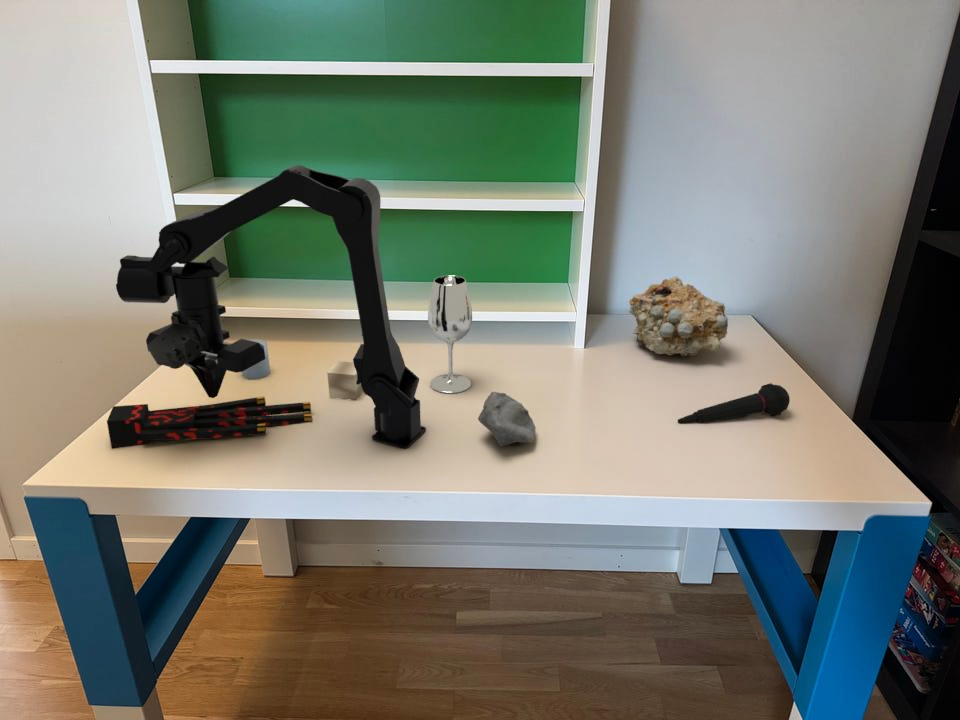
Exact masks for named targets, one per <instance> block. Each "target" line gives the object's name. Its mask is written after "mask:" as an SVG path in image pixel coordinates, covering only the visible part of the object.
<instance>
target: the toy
mask: <svg viewBox="0 0 960 720" xmlns="http://www.w3.org/2000/svg"><path fill="white" fill-rule="evenodd" d="M266 404H267V403H266V398H265V395H264V396H257V397H251V398H244V399H237V400H231V401H223V402H218V403H212V404H205V405H204V404H203V405H193V406H186V407H185V406H183V407H174V408H165V409H155V410H149V404H148V403H146V404H145V403H143V404H129V405H127V404H126V405H116V406H114V405H113V406H112V408H111V411H110V413H109V415H108V418H107V420H106V425H107V429H108V435H109V441H110V442H109V443H110V447H111V450H113V449H121V448H122V449H123V448H129V447H137V446H146V445H148V442H149V441H170V440H171V441H173V440H175V441H176V440H177V441H180V440H181V441H182V440H206V439H207V440H208V439H218V438H230V437H244V436H254V435H266V434H267V426H270V427H271V426H272V427H273V426H288V425H289V426H291V425H299V424H304V423H312V422H313V415H312V413H311V412H312V407H311V404H312V403H311V401H305V402H294V403H283V404H282V403H281V404H280V403H279V404H271V405H269V404H268V405H266ZM308 412H309V413H310V414H309V413H308ZM300 413H302V414H300ZM303 413H304V414H303ZM305 413H306V414H305ZM307 413H308V414H307Z"/></svg>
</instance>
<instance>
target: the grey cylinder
mask: <svg viewBox="0 0 960 720" xmlns="http://www.w3.org/2000/svg"><path fill="white" fill-rule="evenodd" d="M248 340H249V341H254V342H258V343H260V344H261V345H263V346H264V352H265V360H263V361H261V362H259V363H257V364H255V365H254V366H252V367H250V368H248V369H246V370H244V371H243V372H241V373H242V377H243V378H244V379H246V380H253V381H254V380H262V379H265V378H267V377H269V376H270V374H271V367H270V358H269V349H268V343H267V341H266V340H264V339H257V338H255V339H248Z"/></svg>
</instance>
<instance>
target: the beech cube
mask: <svg viewBox="0 0 960 720" xmlns="http://www.w3.org/2000/svg"><path fill="white" fill-rule="evenodd" d="M326 374H327V382H328V383H327V384H328V394H329V395H328V396H329V399H336V398H339V400H347V399H351V400H350V401H358V400H357V399H359V398H360V397H361V395H362V394H363V393H364V392H363V390H362V387H361V383H360V384H358V385H357V384H356V382H357V372H356V369H355V366H354V362H352V361H341V360H337V361H336V362H335V363H334V365H333V366H332V367H331V368H330V369H329V370H328V372H327V373H326ZM340 398H341V399H340Z"/></svg>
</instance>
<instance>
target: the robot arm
mask: <svg viewBox="0 0 960 720" xmlns="http://www.w3.org/2000/svg"><path fill="white" fill-rule="evenodd" d="M292 200H294V201H297V202H300V203H302V204H303V205H306V206H307V207H309V208H311V209H312V210H314V211H316V212H318V213H320V214H323V215H327V216H329V217H331V218H332V220H333V223H334V226H335V230H336V231H337V234H338V236H339V237H340V239H341V241H342V243H343V244H344V247H346V250H347V253H348V258H349V263H350V270H351V276H352V281H353V287H354V293H355V298H356V300H355V301H356V305H357V310H358V317H359V318H358V319H359V323H360V329H361V334H362V341H363V343H360V345H359V347H358V349H357V350H356V353H355V355H354V357H353V359H352V361H353V362H354V366H355V369H356V372H357V382H356V384H357V385H358V384H360V383H361V387H362V390H363V393H364V395H366V396H368V397H369V398H370V399H371V400H372V403H373V404H374V406H375V407H373V417H374V419H373V420H374V430H375V431H376V432H374V434H373V435H371V440H372V441H376V442H380V443H383V444H387V445H391V446H394V447H398V448H401V449H407V448H409V447H411V446H412V445H413V443H414V442H416V441H417V440H418V439H419V438H420V437H421V436H422V435H423V434H424V433H425V432H426V431H427V428H426V427H425V426H422V425H421V424H422V423H421V400H420V399H417V398H416V397H415V396H416V392H417V389H418V385H419V383H420V382H419V381H420V377H418V376H417V375H416V374H415V373H414V372H413V371H412V370H410V369H409V368H408V366H406V363H405V361H404V358H403V355H402V354H403V353H402V351H401V349H400V346H399V344H398V343H397V341H396V338H395V337H394V336H393V334H392V331H391V323H390V317H389V309H388V305H387V304H388V303H387V297H386V291H385V285H384V278H383V277H384V276H383V271H382V265H381V264H382V263H381V259H380V258H381V257H380V251H379V245H378V242H379V233H380V225H381V224H380V223H381V194H380V191H379V189H378V187H377V186H376V185H375V184H374V183H373V182H371V181H370V180H367V179H366V178H359V177H358V178H351V179H348V178H345V177H342V176H340V175H336V174H331V173H326V172H322V171H317V170H314V169H311V168H308V167H306V166H305V165H303V164H302V165H300V164H299V165H298V164H296V165H292V166H290V167H288V168H287V169H284V170H283V171H281V173H280V174H278V175H277V176H275V177H273V178H271V179H270V180H267V181H266V182H264V183H262V184H260V185H258V186H257V187H255V188H253V189H251V190H249V191H248V192H246V193H245V192H244V194H241V195H239V196H238V197H236V198H234V199H232V200H230V201H228V202H226V203H224V204H223V205H220V206H217V207H212V208H209V209H204V210H200V211H196V212H194V213H191V214H187V215H185V216H182V217H180V218H178V219H176V220H174V221H172V222H170V223H168V224H166V225H164V226H163V227H162V228H161V229H160V230H159V232H158V244H159V246H158V248H157V249H156V251H155V253H154V254H153V256H151V257H150V256H138V255H126V256H122V258H120V259H119V263H120V268H119V270H118V272H117V279H116V284H115V288H116V291H117V295H118V297H119V299H121V301H123V302H125V303H138V304H139V303H143V304H144V303H146V304H166V303H168V301H169V300H170V299H171V297H173V296H175V301H176V308H177V310H175V311H173V312H171V316H170V320H171V323H170V324H168V325H165V326H163V327H159V328H158V329H156V330H153V331H151V332H149V333H148V335H147V337H146V339H145V340H146V348H147V352H149V353H150V355H151V356H152V358H153V360H154V362H155V363H156V364H157V365H158V366H165V367H169V368H170V369H173V370H175V369H179V368H180V369H181V368H182V367H183V366H184V365H185V366H186V367H189V368H190V369H191V370H192V372H193V373H194V375H195V376H196V378H197V379H198V381H199V383H200V385H201V386H202V388H203V390H204V391H205V393H206V395H207V397H208V398H211V399H215V398H216V397H218V395H219V393H220V390H221V387H222V385H223V381H224V378H225V376H226V373H227V371H229V372H232V373H236V374H238V373H242V372H243V371H244V370H246V369H248V368H250V367H252V366H254V365H255V364H257V363H259V362H261V361H263V360H265V352H264V346H263V345H261V344H260V343H258V342H254V341H249V340H250V339H244V338H241V339H238V340H236V341H234V342H228V341H225V340H227V339H229V338H230V331H228V330H224V329H223V325H222V319H221V315H223V314H225V313H227V312H226V306H225V305H221V304H219V298H218V291H217V284H216V281H215V280H216V279H215V278H219V277H221V276H222V275H223V274H224V273H226V272H227V271H228V270H229V267H228V266H227V265H226V264H225V263H223V262H221V261H220V260H219V259H217V258H216V256H211V257H210V258H209V259H207V260H206V261H195V259H197V258H199V257H200V256H202V255H203V254H205V253H206V252H208V251H209V250H211V249H212V248H214V246H216V245H217V244H219V242H221V241H222V240H223V239H224V238H225V237H227V236H228V235H229V234H230V233H231V232H232V231H235V230H236V229H238V228H241V227H243V226H244V225H246V224H248V223H250V222H252V221H254V220H255V219H257V218H259V217H262V216H263V215H266V214H267V213H269V212H271V211H273V210H275V209H277V208H279V207H280V206H283V205H285V204H287V203H289V202H291V201H292ZM177 263H178V264H179V265H183V266H174V265H175V264H177Z"/></svg>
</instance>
